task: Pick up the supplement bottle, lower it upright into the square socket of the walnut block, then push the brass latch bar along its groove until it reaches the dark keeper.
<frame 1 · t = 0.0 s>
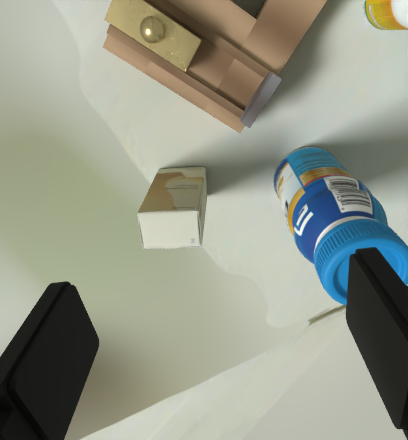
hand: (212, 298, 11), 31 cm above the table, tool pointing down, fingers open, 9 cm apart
skincare box: (182, 182, 43), on the table
latch bar: (154, 30, 29), point 6 cm above the table, slide at 0.0 cm
beverage bottle: (304, 176, 42), on the table
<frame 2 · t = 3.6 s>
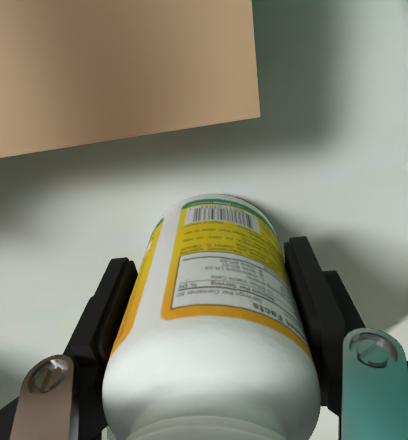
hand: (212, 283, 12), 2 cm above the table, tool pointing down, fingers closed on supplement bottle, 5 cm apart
supplement bottle: (212, 245, 14), on the table, touching gripper
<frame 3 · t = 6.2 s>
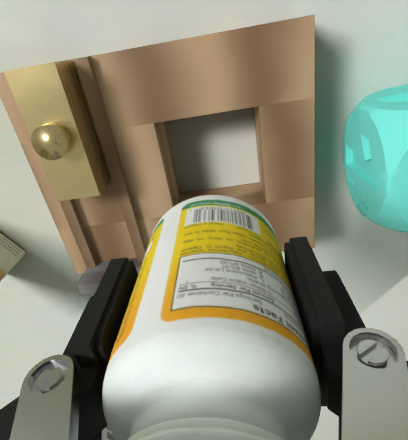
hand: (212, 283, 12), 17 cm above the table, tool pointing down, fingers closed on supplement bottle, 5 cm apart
supplement bottle: (212, 246, 14), point 14 cm above the table, touching gripper
latch bar: (60, 135, 21), point 6 cm above the table, slide at 0.0 cm
decorative dice: (393, 138, 26), on the table
socket block: (177, 154, 27), on the table
when the fingers open (5 cm above the table, at t = 9.1 s): supplement bottle drops 2 cm, resting in socket block.
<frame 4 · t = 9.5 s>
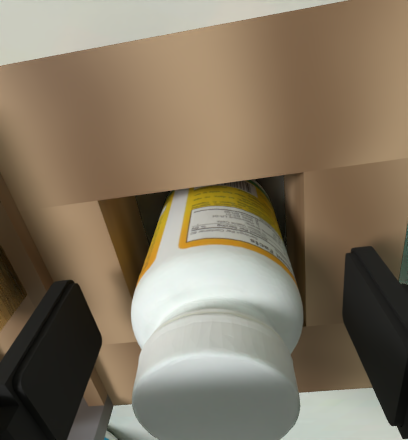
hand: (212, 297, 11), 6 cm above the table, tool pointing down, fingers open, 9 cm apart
supplement bottle: (216, 215, 16), resting in socket block
socket block: (153, 227, 16), on the table
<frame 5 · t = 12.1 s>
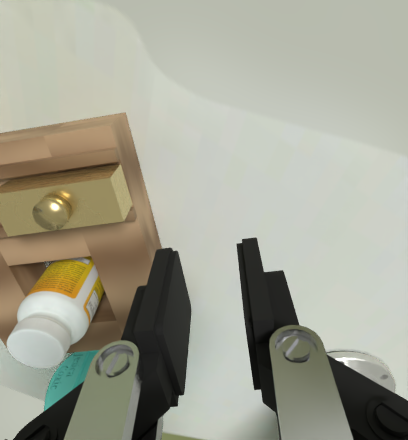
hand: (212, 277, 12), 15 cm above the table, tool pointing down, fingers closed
supplement bottle: (84, 265, 31), resting in socket block
latch bar: (61, 203, 21), point 6 cm above the table, slide at 0.0 cm
decorative dice: (112, 363, 38), on the table
socket block: (70, 239, 30), on the table
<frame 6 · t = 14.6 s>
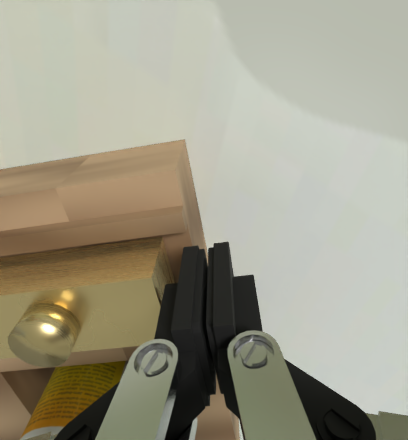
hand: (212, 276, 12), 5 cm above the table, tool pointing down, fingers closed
supplement bottle: (109, 347, 22), resting in socket block
latch bar: (61, 308, 12), point 6 cm above the table, slide at 1.0 cm, touching gripper
socket block: (91, 316, 21), on the table
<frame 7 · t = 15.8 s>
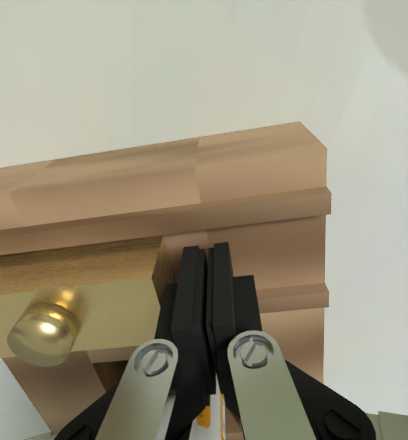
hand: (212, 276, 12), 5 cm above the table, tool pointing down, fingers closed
supplement bottle: (182, 340, 22), resting in socket block
latch bar: (60, 308, 12), point 6 cm above the table, slide at 6.2 cm, touching gripper
socket block: (170, 307, 20), on the table
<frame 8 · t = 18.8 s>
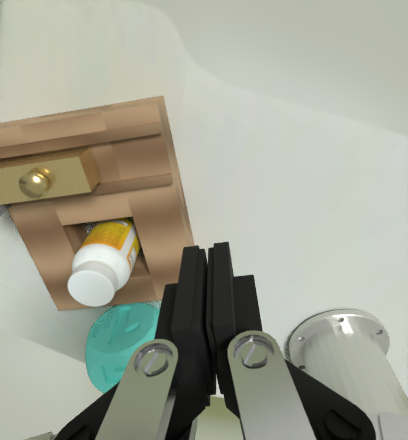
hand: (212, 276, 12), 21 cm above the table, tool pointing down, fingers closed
supplement bottle: (120, 231, 37), resting in socket block
latch bar: (42, 178, 27), point 6 cm above the table, slide at 6.3 cm
decorative dice: (139, 322, 43), on the table
socket block: (110, 206, 35), on the table
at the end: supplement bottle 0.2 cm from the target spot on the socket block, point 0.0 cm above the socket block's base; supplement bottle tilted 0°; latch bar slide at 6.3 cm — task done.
